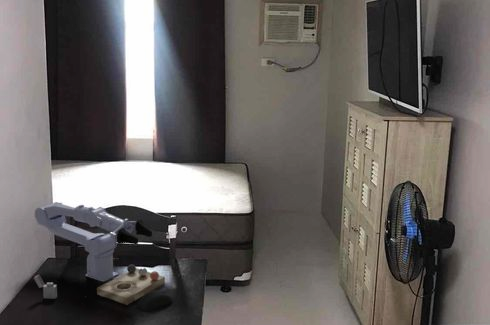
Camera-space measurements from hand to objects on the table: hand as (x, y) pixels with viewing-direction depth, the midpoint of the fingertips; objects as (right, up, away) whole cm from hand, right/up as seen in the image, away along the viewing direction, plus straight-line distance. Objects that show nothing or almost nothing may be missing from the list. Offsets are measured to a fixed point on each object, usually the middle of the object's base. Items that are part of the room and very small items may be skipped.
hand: (144, 237), depth 185 cm
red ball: (+3, -15, +5) cm, 16 cm away
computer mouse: (+5, -22, -6) cm, 23 cm away
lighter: (-33, -20, -4) cm, 39 cm away
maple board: (-5, -19, +4) cm, 20 cm away
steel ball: (-2, -14, +8) cm, 16 cm away
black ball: (-7, -13, +11) cm, 18 cm away
